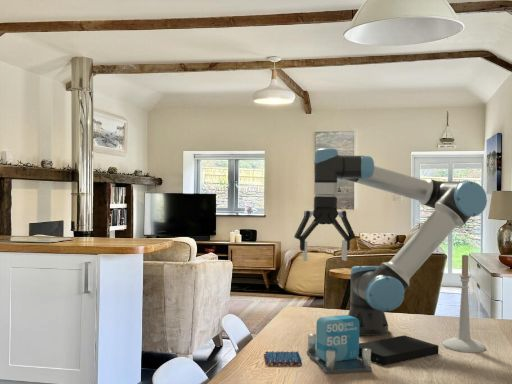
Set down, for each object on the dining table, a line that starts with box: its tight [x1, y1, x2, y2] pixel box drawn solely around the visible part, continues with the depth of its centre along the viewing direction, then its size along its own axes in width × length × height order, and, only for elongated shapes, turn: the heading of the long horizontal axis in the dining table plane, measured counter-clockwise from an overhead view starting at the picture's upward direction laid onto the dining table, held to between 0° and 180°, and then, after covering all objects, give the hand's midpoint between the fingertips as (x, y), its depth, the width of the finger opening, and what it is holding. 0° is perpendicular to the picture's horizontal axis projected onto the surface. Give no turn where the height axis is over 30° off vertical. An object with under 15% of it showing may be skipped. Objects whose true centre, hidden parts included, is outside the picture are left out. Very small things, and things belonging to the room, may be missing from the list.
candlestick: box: [442, 254, 486, 354], centre depth 184 cm, size 13×13×30 cm
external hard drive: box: [358, 334, 440, 367], centre depth 176 cm, size 14×23×3 cm, turn 122°
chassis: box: [306, 333, 373, 375], centre depth 166 cm, size 13×20×6 cm, turn 12°
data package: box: [315, 314, 360, 362], centre depth 166 cm, size 12×4×12 cm, turn 114°
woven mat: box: [263, 350, 303, 367], centre depth 167 cm, size 10×11×2 cm
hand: (324, 260), depth 188 cm, fingers open, 13 cm apart
